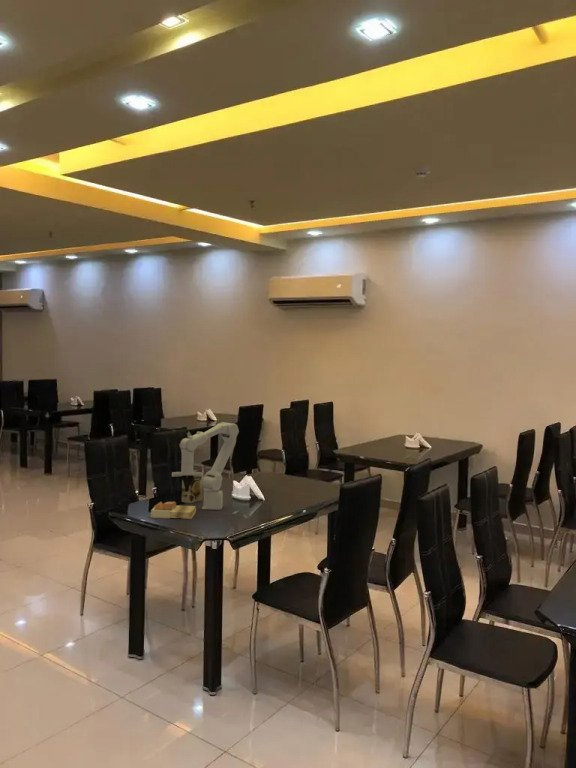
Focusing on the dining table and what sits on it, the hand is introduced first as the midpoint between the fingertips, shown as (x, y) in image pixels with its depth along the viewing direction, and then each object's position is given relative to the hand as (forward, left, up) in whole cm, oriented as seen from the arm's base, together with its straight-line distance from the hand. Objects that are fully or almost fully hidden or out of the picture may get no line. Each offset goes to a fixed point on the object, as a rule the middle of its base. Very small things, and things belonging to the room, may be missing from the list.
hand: (186, 491), depth 300 cm
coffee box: (+2, -24, -11) cm, 27 cm away
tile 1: (+11, +4, -7) cm, 13 cm away
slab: (+1, +5, -10) cm, 12 cm away
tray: (+10, +5, -10) cm, 15 cm away
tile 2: (+7, +3, -8) cm, 11 cm away
